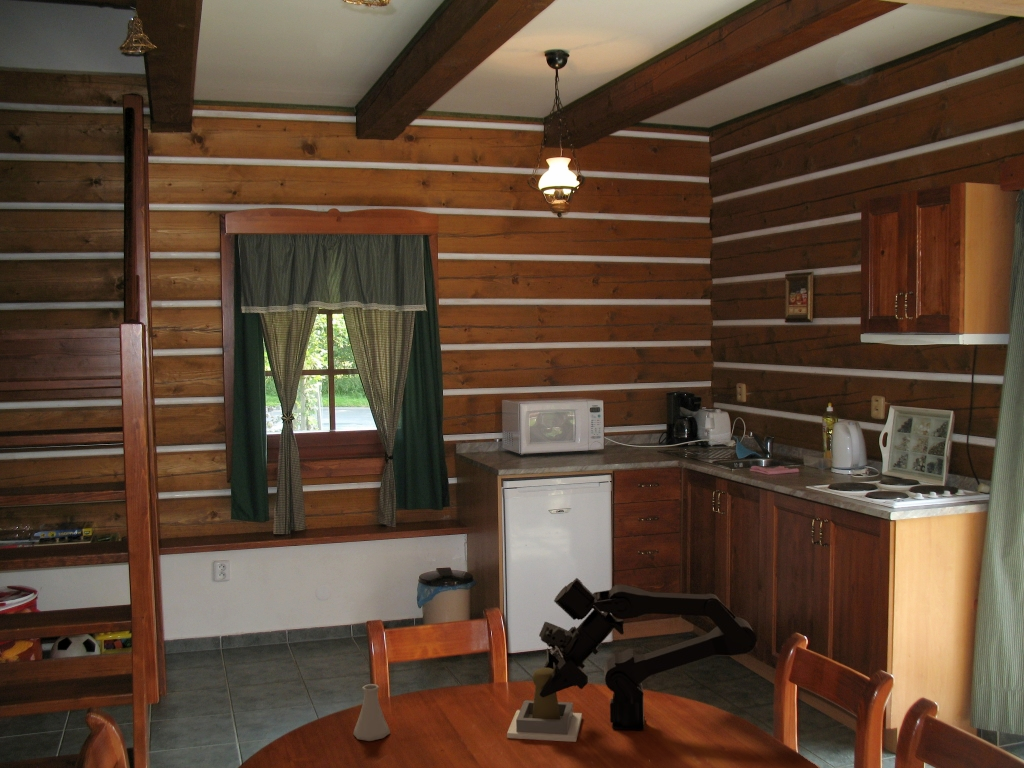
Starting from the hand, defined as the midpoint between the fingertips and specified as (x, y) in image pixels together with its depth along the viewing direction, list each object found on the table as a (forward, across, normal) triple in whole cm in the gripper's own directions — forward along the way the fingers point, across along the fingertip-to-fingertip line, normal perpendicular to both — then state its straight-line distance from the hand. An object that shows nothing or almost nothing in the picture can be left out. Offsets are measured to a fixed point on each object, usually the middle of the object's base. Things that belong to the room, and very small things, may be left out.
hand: (538, 691), depth 191 cm
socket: (+5, 0, +6) cm, 8 cm away
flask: (+30, -3, -19) cm, 36 cm away
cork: (+4, 0, +6) cm, 7 cm away
